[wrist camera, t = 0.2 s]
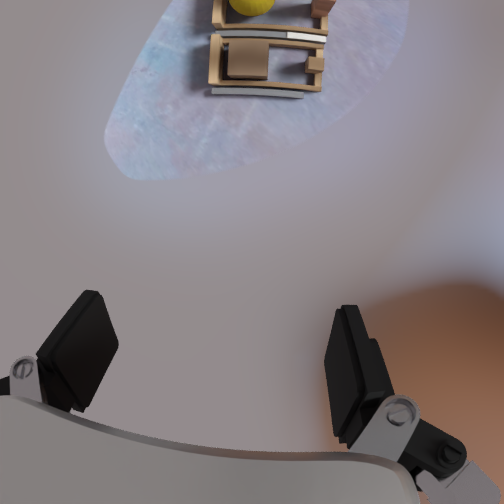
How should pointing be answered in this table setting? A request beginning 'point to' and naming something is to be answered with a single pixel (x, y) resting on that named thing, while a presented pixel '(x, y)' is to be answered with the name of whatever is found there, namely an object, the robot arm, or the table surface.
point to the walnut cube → (248, 59)
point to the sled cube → (311, 66)
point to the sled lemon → (319, 10)
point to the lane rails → (273, 36)
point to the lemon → (252, 6)
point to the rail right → (258, 92)
